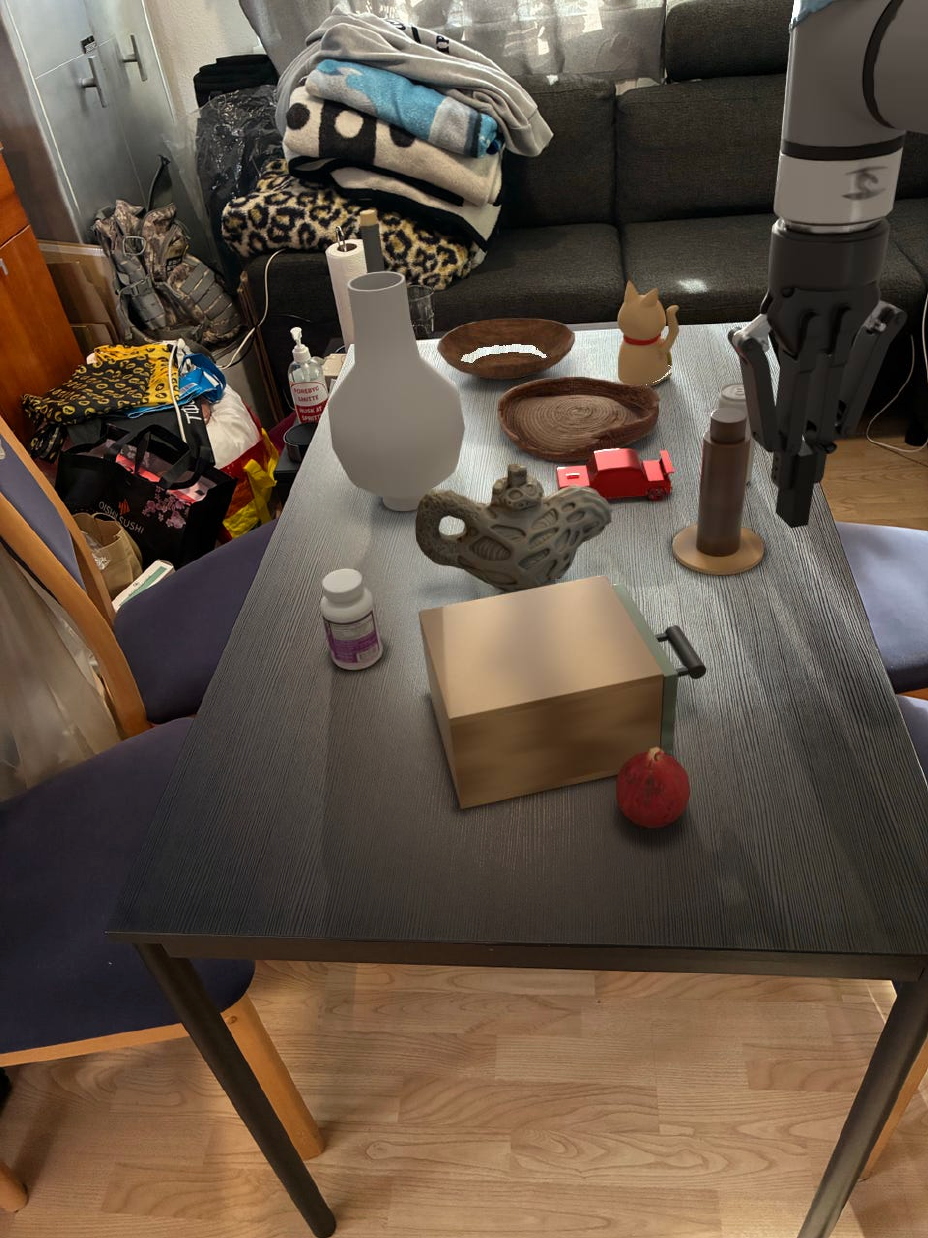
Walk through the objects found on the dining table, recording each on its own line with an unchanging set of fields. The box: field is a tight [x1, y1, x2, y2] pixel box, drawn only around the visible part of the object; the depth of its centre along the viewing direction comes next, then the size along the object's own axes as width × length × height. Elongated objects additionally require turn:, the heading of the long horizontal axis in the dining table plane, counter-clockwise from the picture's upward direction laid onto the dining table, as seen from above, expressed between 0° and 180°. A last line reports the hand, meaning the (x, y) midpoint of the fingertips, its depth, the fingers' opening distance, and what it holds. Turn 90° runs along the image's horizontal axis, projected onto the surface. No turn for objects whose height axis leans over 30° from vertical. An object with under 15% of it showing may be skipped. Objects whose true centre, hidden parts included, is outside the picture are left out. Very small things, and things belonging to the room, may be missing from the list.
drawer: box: [611, 582, 707, 753], centre depth 84 cm, size 21×13×9 cm, turn 102°
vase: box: [327, 270, 466, 512], centre depth 113 cm, size 17×16×28 cm
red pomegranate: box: [615, 747, 691, 829], centre depth 74 cm, size 6×6×8 cm
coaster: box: [671, 523, 765, 576], centre depth 106 cm, size 10×10×1 cm
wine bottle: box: [359, 209, 413, 324], centre depth 130 cm, size 8×8×30 cm
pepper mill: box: [696, 408, 751, 557], centre depth 101 cm, size 5×5×16 cm
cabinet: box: [417, 574, 664, 810], centre depth 83 cm, size 18×15×11 cm
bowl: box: [436, 317, 576, 381], centre depth 150 cm, size 20×22×5 cm
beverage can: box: [716, 382, 757, 485], centre depth 115 cm, size 5×5×12 cm
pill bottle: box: [320, 568, 384, 671], centre depth 94 cm, size 5×5×10 cm
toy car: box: [555, 447, 675, 501], centre depth 117 cm, size 14×6×5 cm, turn 90°
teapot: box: [414, 463, 613, 593], centre depth 100 cm, size 21×12×15 cm, turn 99°
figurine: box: [617, 279, 680, 387], centre depth 139 cm, size 9×10×15 cm
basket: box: [496, 376, 661, 463], centre depth 131 cm, size 22×20×5 cm
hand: (791, 518), depth 77 cm, fingers closed
